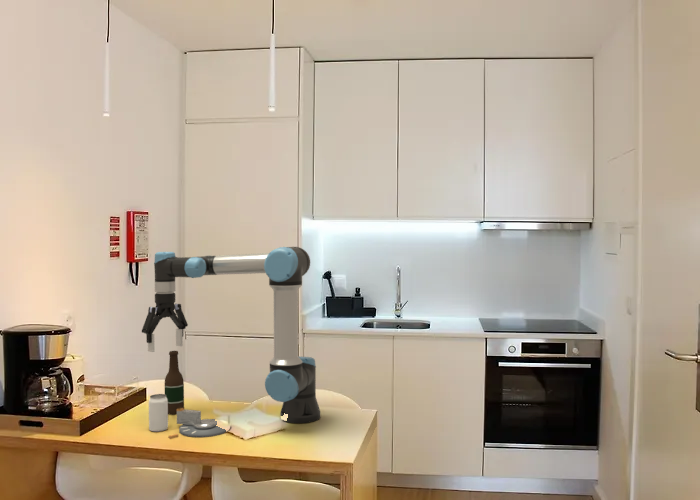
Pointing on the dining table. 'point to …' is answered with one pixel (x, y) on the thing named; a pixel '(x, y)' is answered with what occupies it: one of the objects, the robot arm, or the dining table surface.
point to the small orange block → (173, 436)
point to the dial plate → (200, 431)
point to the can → (158, 413)
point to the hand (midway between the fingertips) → (165, 348)
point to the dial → (194, 419)
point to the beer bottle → (174, 385)
